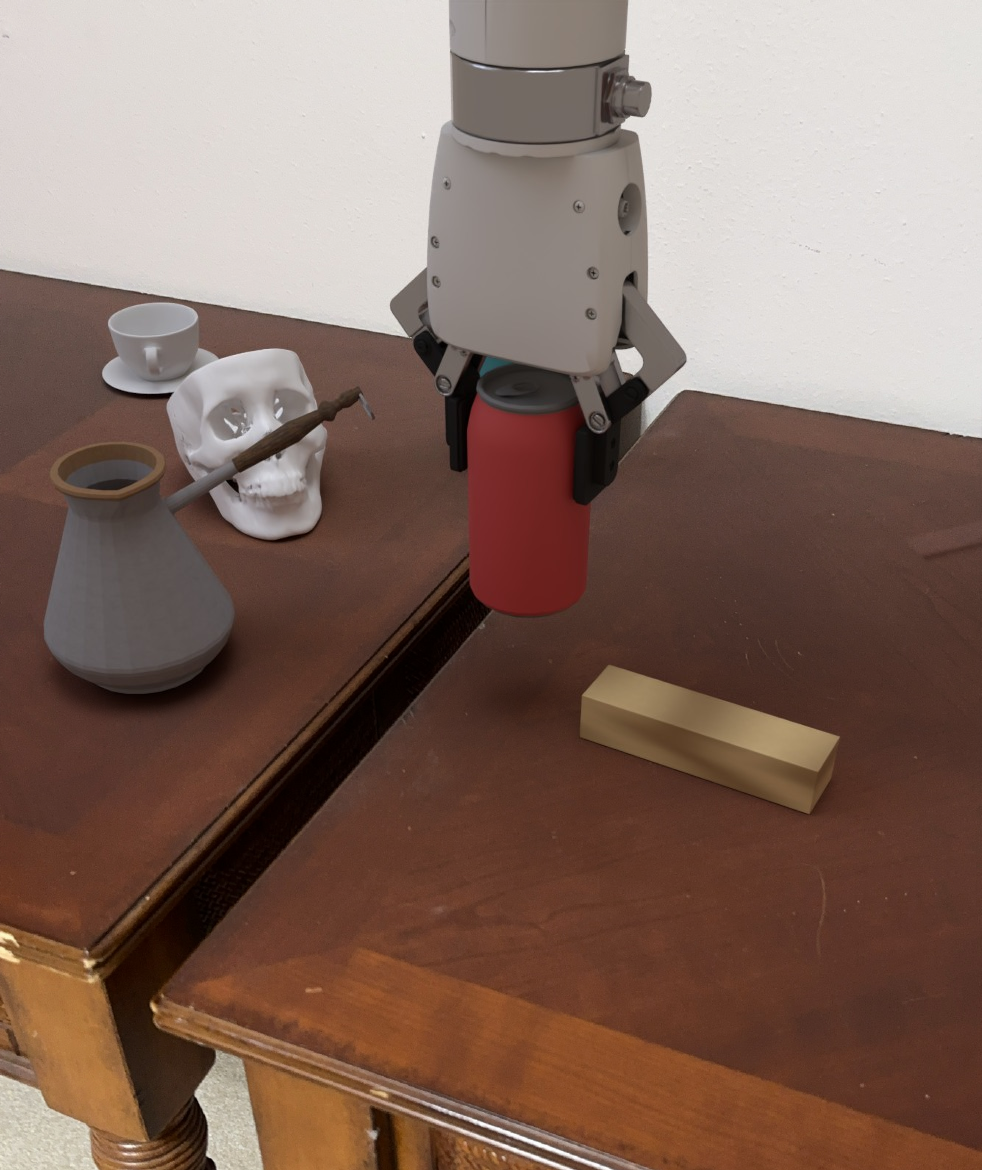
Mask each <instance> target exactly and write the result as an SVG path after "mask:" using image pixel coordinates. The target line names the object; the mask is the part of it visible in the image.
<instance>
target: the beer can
mask: <svg viewBox="0 0 982 1170" xmlns="http://www.w3.org/2000/svg"><path fill="white" fill-rule="evenodd" d="M585 421H586V420H585V417H584V415H583V412H582V409H581V406H580V403H579V401H578V398H577V395H576V392H575V390H574V387H573V384H572V381H571V378H570V376H569V375H568V374H563V373H559V372H554V371H549V370H545V369H540V368H536V367H532V366H527V365H523V364H518V363H512V364H507V365H503V366H500V367H496V368H494V369H492V370H490V371H488V372H486V373H485V374H484V375H483V376H482V377H481V378H480V379H479V380H478V382H477V395H476V397H475V400H474V402H473V405H472V408H471V412H470V417H469V422H468V428H467V453H468V469H467V499H468V500H467V503H468V509H467V510H468V511H467V512H468V560H469V561H468V563H469V564H468V565H469V567H468V568H469V572H468V573H469V586H470V589H471V591H472V593H473V595H474V597H475V599H477V601H479V602H480V603H482V604H483V606H485V608H488V609H490V610H492V611H494V612H497V613H499V614H501V615H504V616H508V617H513V618H514V617H515V618H521V619H522V618H524V619H525V618H526V619H536V618H543V617H550V616H553V615H556V614H558V613H561V612H564V611H567V610H568V609H570V608H571V607H572V606H574V605H575V604H577V603H578V602H579V601H580V599H581V598H582V596H583V595H584V593H585V592H586V590H587V585H588V584H587V583H588V567H589V565H588V564H589V546H590V545H589V544H590V529H591V527H590V526H591V525H590V524H591V507H592V506H591V505H592V501H591V502H590V503H589V504H588V505H587V506H585V505H581V504H577V503H576V502H575V500H573V480H574V455H575V436H576V432H577V431H578V429H580V428H581V427H582V426H583V425H584V424H585Z"/></svg>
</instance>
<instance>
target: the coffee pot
mask: <svg viewBox="0 0 982 1170" xmlns="http://www.w3.org/2000/svg"><path fill="white" fill-rule="evenodd" d="M358 401H359V402H360V404H361V406H362V407H363V409H364V411H365V412H366V414H367V415H368V416H369V419H370V420H371V421H374V420H376V417H375V414H374V412H373V410H372V408H371V407H370V405H369V403H368V401H367V400H366V398H365V397H364V393H363V391H362V389H361V388H360V386H357V387H354V388H350V389H348V390H346V391H342V392H341V393H340V394H339V395H338V397H337V398H334V399H333V400H331V401H328V400H322V401H321V402H320V403H319V405H318V407H317V408H318V409H317V410H315V411H312V412H310V413H307V414H305V415H303V416H300V417H298V418H296V419H293V420H290V421H288V422H286V423H285V424H283V425H282V426H280V427H279V428H277V429H276V430H274V431H273V432H271V433H270V434H268V435H267V436H266V437H264V438H263V439H261V440H260V441H258V442H257V443H255V444H254V445H252V446H251V447H249V448H248V449H246V450H245V451H243V452H242V453H240V454H239V455H238V456H236V457H235V458H233V459H232V461H231V462H229V463H227V464H225V465H224V466H222V467H220V468H218V469H217V470H215V471H213V472H211V473H209V474H208V475H206V476H204V477H202V478H201V479H199V480H197V481H195V480H194V481H193V482H192V483H190V484H188V485H186V486H185V487H183V488H181V489H179V490H177V491H176V492H174V493H172V494H171V495H169V496H167V497H166V498H163V496H162V494H160V493H161V480H162V479H163V478H164V476H165V473H166V471H167V467H168V466H167V460H166V458H165V456H164V455H163V454H162V453H161V451H159V450H158V449H156V448H154V447H152V446H150V445H146V444H143V443H139V442H133V441H107V442H97V443H93V444H89V445H88V444H87V445H83V446H81V447H78V448H76V449H73V450H71V451H69V452H67V453H65V454H63V455H62V456H60V457H59V458H58V459H57V460H56V461H54V462H53V463H52V466H51V467H50V470H49V481H50V483H51V484H52V485H53V487H54V489H55V490H56V491H58V492H60V494H62V495H63V497H64V499H65V500H66V503H67V505H68V508H67V514H66V518H65V521H64V527H63V532H62V536H61V541H60V545H59V550H58V555H57V560H56V564H55V569H54V572H53V576H52V577H53V578H52V582H51V587H50V592H49V596H48V601H47V605H46V609H45V614H44V619H43V640H44V642H45V644H46V645H47V647H48V649H49V651H50V653H51V654H52V656H53V657H54V658H55V659H56V660H57V662H59V664H60V665H61V666H63V667H64V668H65V669H66V670H68V671H69V672H70V673H71V674H73V675H75V676H77V677H79V678H81V679H83V680H85V681H88V682H89V683H92V684H95V685H97V686H98V687H100V688H103V689H105V690H107V691H109V692H115V693H121V694H125V695H144V694H152V693H159V692H164V691H167V690H171V689H173V688H177V687H179V686H181V685H183V684H185V683H187V682H189V681H191V680H192V679H193V678H195V677H196V676H198V675H199V674H200V673H202V672H203V670H204V669H205V667H206V666H207V665H209V664H210V663H211V662H212V661H213V660H214V659H215V658H216V657H217V656H218V655H219V653H220V652H221V651H222V650H223V648H224V647H225V646H226V644H227V643H228V642H229V641H228V640H229V637H230V634H231V632H232V628H233V625H234V621H235V619H236V612H235V606H234V601H233V599H232V597H231V595H230V594H229V592H228V591H227V589H226V587H224V585H223V584H222V582H221V581H220V579H219V578H218V576H217V575H216V574H215V572H214V571H213V569H212V568H211V566H210V564H209V563H208V562H207V560H206V559H205V557H204V555H202V553H201V551H200V550H199V549H198V547H197V546H196V544H195V543H194V541H193V540H192V539H191V537H190V536H189V534H188V533H187V531H186V530H185V528H184V527H183V525H182V524H181V522H180V521H179V519H178V518H177V516H176V515H175V514H177V512H179V511H180V510H182V509H184V508H186V507H187V506H188V505H190V504H191V503H193V502H195V501H196V500H198V499H199V498H201V497H202V496H204V495H205V494H207V493H210V492H209V491H210V490H212V489H213V488H215V487H217V486H218V485H220V484H221V483H223V482H224V481H226V482H227V481H229V480H228V479H229V478H231V477H232V476H234V475H235V474H237V473H238V472H239V473H241V472H243V471H245V470H247V469H249V468H250V467H252V466H254V465H256V464H258V463H260V462H262V461H264V460H266V459H267V458H269V457H271V456H273V455H275V454H277V453H279V452H281V451H282V450H284V449H286V448H288V447H290V446H292V445H294V444H296V443H298V442H299V441H300V440H302V439H303V438H304V437H305V436H306V435H307V434H309V433H310V432H311V431H312V430H314V429H315V428H316V427H317V426H319V425H320V424H321V423H324V421H325V422H334V421H335V419H336V416H337V414H338V413H339V412H340V411H342V410H343V409H348V408H351V407H352V406H353V405H355V404H356V403H357V402H358Z"/></svg>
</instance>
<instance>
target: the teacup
mask: <svg viewBox="0 0 982 1170" xmlns="http://www.w3.org/2000/svg"><path fill="white" fill-rule="evenodd" d="M199 322H200V321H199V314H198V313H197V311H196V310H195V309H193V308H192V307H190V306H187V305H184V304H181V303H176V302H175V303H173V302H146V303H141V304H136V305H131V306H128V307H125V308H123V309H120V310H118V311H117V312H115V313H113V314H112V315H111V316H110V317H109V319H108V321H107V326H108V330H109V332H110V333H109V334H110V335H111V339H112V342H113V345H114V348H115V351H116V353H117V355H118V356H116V357H114V358H112V359H111V360H110V361H109V362H108V363H107V364H105V365H104V367H103V369H102V372H101V374H102V379H103V381H104V382H105V383H106V384H108V385H109V386H111V387H113V388H114V389H118V390H121V391H124V392H128V393H134V394H135V393H136V394H147V395H149V394H150V395H151V394H169V393H174V392H175V391H176V390H177V389H178V388H179V386H180V385H181V384H182V382H183V381H184V380H185V379H186V378H187V377H188V376H189V375H190V374H191V373H192V372H194V371H196V370H198V369H200V368H202V367H203V366H205V365H207V364H210V363H212V362H214V361H216V360H219V359H220V358H219V357H218V356H217V355H215V354H214V353H213V352H211V351H209V350H206V349H203V348H200V347H199V346H200V345H199V344H200V325H199V324H200V323H199Z"/></svg>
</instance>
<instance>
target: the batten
mask: <svg viewBox="0 0 982 1170" xmlns="http://www.w3.org/2000/svg"><path fill="white" fill-rule="evenodd" d="M579 725H580V726H579V738H581V739H584V740H587V741H589V742H593V743H596V744H600V745H602V746H605V747H608V748H611V749H615V750H617V751H620V752H623V753H626V754H629V755H632V756H634V757H638V758H641V759H643V760H646V761H650V762H653V763H655V764H659V765H661V766H664V767H667V768H670V769H674V770H677V771H680V772H682V773H685V774H689V775H691V776H694V777H697V778H700V779H703V780H706V781H709V782H711V783H715V784H718V785H720V786H724V787H726V788H730V789H733V790H736V791H739V792H743V793H745V794H748V795H750V796H753V797H757V798H760V799H761V800H762V799H763V800H765V801H768V802H771V803H775V804H778V805H780V806H783V807H786V808H790V809H792V810H796V811H798V812H801V813H804V814H807V815H810V814H811V813H812V812H813V810H814V808H815V806H816V805H817V803H818V801H819V800H820V798H821V797H822V794H824V791H825V789H826V788H827V786H828V785H829V783H830V781H831V780H832V776H833V772H834V767H835V762H836V757H837V754H838V748H839V744H840V741H841V740H840V739H841V737H840V735H835V734H833V733H830V732H827V731H823V730H820V729H817V728H813V727H810V726H807V725H805V724H804V725H803V724H801V723H798V722H795V721H791V720H788V719H785V718H781V717H778V716H776V715H772V714H768V713H765V712H762V711H758V710H755V709H754V708H753V709H752V708H749V707H746V706H743V705H740V704H736V703H733V702H730V701H726V700H723V699H720V698H717V697H714V696H711V695H708V694H704V693H702V692H698V691H695V690H692V689H689V688H685V687H682V686H679V685H676V684H672V683H669V682H665V681H663V680H660V679H656V678H653V677H650V676H648V675H644V674H641V673H637V672H634V671H631V670H627V669H624V668H622V667H619V666H618V667H617V666H615V665H612V664H608V665H607V666H606V667H605V668H604V670H603V671H602V672H601V673H600V674H599V675H598V676H597V677H596V678H595V679H594V681H593V682H592V683H591V684H590V685H589V686H588V688H587V689H586V690H585V691H584V692H583V693H582V694H581V707H580V723H579Z"/></svg>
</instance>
